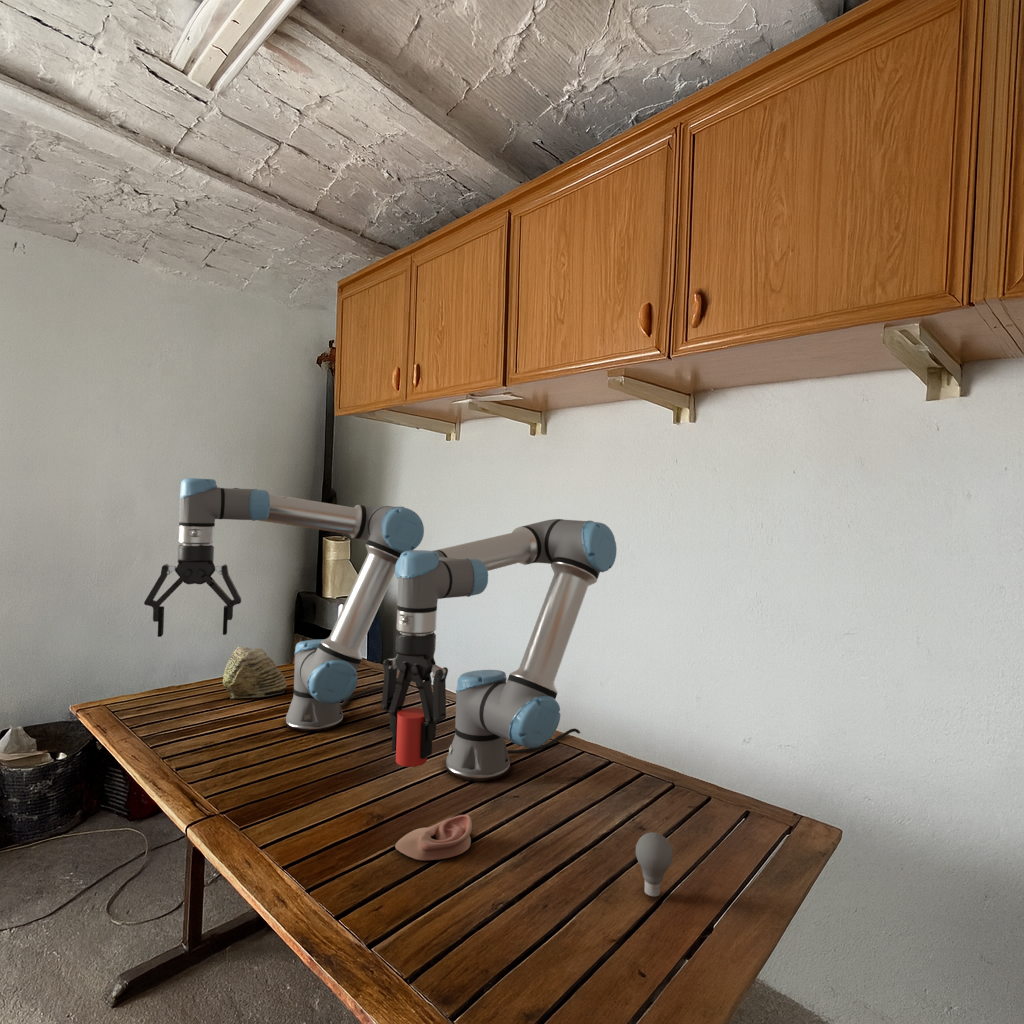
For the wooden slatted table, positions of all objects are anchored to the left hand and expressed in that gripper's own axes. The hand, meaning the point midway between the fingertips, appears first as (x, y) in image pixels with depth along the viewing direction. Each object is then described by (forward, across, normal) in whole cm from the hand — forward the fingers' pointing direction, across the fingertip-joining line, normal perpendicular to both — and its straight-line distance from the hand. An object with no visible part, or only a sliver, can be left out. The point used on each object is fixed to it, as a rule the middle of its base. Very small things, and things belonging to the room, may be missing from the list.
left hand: (193, 634), depth 148 cm
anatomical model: (+30, +47, -51) cm, 76 cm away
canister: (+16, +43, -46) cm, 65 cm away
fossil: (+30, +13, +48) cm, 57 cm away
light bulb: (+30, +78, -76) cm, 113 cm away
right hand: (+14, +43, -46) cm, 64 cm away
